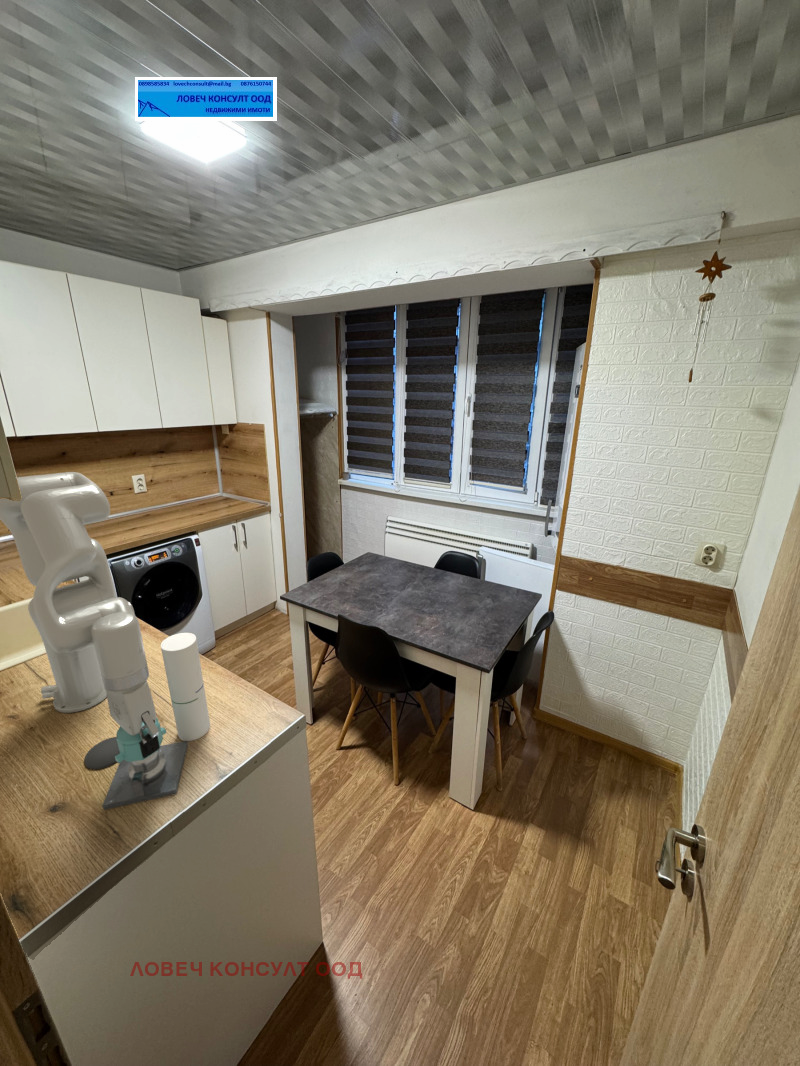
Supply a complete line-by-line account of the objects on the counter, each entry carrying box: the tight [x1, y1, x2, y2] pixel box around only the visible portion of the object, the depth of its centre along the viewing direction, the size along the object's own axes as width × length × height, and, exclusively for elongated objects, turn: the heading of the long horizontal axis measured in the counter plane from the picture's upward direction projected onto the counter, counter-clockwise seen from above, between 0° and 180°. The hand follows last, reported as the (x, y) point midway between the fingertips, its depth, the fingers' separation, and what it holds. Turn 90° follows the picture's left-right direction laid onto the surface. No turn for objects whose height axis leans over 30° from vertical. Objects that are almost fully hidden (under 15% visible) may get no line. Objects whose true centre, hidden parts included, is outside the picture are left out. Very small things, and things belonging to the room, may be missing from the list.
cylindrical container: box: [160, 632, 211, 742], centre depth 98 cm, size 7×7×25 cm
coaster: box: [84, 736, 120, 770], centre depth 94 cm, size 8×8×1 cm
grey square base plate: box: [102, 740, 189, 811], centre depth 89 cm, size 13×13×7 cm
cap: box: [115, 716, 167, 764], centre depth 87 cm, size 10×7×5 cm
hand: (141, 742), depth 87 cm, fingers closed on cap, 7 cm apart
